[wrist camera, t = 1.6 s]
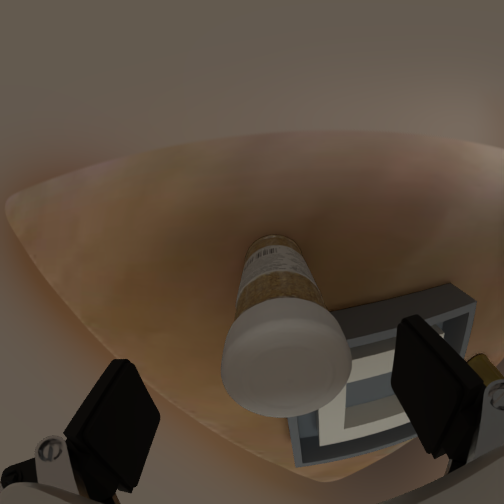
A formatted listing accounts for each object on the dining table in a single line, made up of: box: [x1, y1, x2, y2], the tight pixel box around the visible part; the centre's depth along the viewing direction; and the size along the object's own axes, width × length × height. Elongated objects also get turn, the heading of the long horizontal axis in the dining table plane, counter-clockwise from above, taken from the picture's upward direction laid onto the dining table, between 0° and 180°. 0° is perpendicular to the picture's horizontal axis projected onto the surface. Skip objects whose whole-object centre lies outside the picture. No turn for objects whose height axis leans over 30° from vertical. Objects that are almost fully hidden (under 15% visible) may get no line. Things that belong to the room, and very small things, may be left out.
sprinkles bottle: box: [221, 235, 352, 418], centre depth 15 cm, size 5×5×13 cm
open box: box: [287, 283, 477, 467], centre depth 22 cm, size 18×18×4 cm
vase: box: [467, 354, 504, 387], centre depth 17 cm, size 6×6×14 cm
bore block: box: [316, 324, 444, 446], centre depth 22 cm, size 12×12×3 cm
